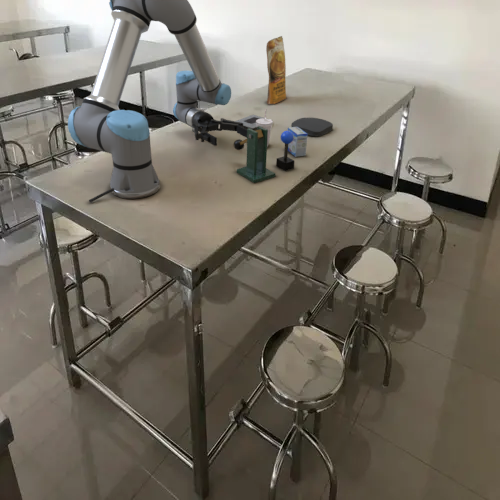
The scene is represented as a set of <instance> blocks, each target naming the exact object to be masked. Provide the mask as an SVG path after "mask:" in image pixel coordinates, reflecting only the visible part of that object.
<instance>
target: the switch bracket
mask: <svg viewBox="0 0 500 500" xmlns="http://www.w3.org/2000/svg"><path fill="white" fill-rule="evenodd" d="M246 129H247V138H246V139H247V143H246V164H245V165H246V166H243V167H239V168H237V169H236V173H237V174H239V175H240V176H242V177H244V179H247V180H248V181H250V182H252V183H253V184H256V183H259V182H262V181H265V180H270V179H272V178H275V177H276V172H274V171H272V170H270V169H269V168H267V156H268V155H267V154H268V147H267V137H268V130H267V129H265V128H263V127H261V126H257V128H256V130H260V129H261V130H262V134H263V137H261V138H259V139H258V132H256V130H255V129H253V130H252V129H250V128H249V129H248V128H246Z"/></svg>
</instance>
